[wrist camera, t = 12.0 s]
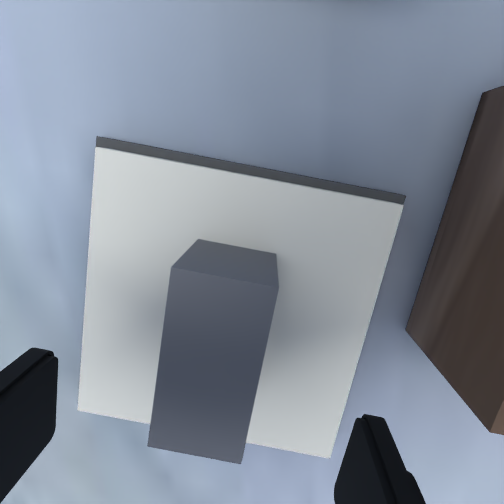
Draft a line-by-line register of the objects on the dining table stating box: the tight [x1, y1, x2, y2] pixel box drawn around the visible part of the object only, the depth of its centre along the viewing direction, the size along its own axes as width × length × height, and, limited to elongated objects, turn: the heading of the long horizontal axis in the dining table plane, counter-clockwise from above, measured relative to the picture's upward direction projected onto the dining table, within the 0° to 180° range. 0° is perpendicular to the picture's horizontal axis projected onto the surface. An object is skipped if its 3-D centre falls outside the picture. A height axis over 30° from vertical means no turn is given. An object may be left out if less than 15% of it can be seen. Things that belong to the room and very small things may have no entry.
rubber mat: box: [78, 136, 406, 396], centre depth 20 cm, size 16×16×1 cm
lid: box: [77, 147, 404, 464], centre depth 17 cm, size 15×15×6 cm
